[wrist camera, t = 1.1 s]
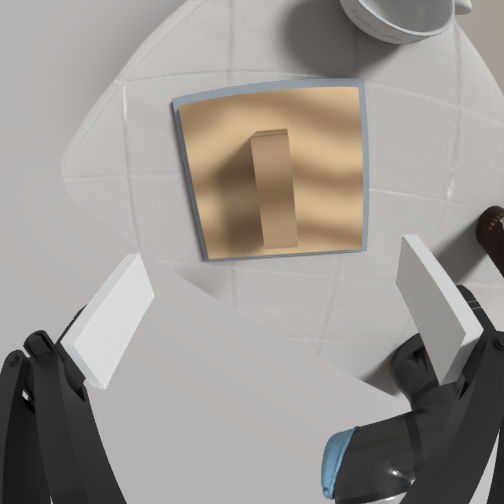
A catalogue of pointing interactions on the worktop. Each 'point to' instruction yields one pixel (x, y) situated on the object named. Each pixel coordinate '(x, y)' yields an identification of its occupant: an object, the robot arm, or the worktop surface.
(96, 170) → the worktop surface
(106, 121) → the worktop surface
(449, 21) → the teacup
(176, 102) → the mat
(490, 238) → the coffee mug
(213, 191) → the cover board
